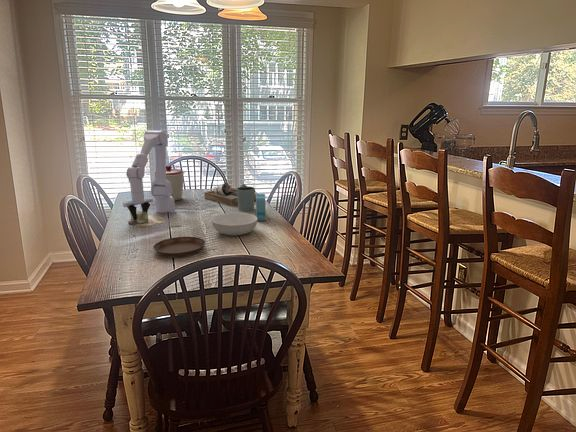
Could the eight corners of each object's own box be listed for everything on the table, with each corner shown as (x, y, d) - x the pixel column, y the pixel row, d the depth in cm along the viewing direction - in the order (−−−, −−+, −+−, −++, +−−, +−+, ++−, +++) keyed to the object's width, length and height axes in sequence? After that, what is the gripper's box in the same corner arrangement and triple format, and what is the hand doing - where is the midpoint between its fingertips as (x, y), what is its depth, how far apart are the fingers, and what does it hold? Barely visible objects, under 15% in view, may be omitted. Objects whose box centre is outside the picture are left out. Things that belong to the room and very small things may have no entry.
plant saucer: (144, 251, 178) (143, 243, 177) (188, 239, 192) (187, 232, 191) (170, 264, 164) (170, 256, 163) (215, 251, 178) (215, 243, 177)
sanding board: (153, 217, 227) (152, 214, 227) (170, 223, 215) (169, 220, 215) (125, 223, 217) (125, 220, 216) (141, 230, 205) (141, 227, 205)
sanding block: (139, 219, 218) (138, 209, 217) (148, 222, 212) (147, 212, 211) (131, 220, 215) (130, 211, 214) (139, 224, 209) (138, 214, 208)
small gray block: (134, 222, 213) (134, 220, 212) (137, 223, 211) (137, 221, 210) (128, 223, 211) (128, 221, 210) (131, 224, 209) (131, 222, 208)
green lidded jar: (234, 210, 239) (233, 189, 236) (242, 206, 248) (242, 185, 245) (250, 212, 236) (249, 190, 233) (258, 207, 245) (258, 186, 242)
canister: (173, 194, 277) (170, 161, 272) (192, 198, 267) (190, 164, 261) (149, 200, 263) (146, 165, 258) (168, 204, 253) (166, 168, 247)
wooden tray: (228, 193, 280) (228, 187, 279) (256, 200, 262) (255, 193, 261) (204, 198, 267) (204, 192, 266) (231, 205, 249) (231, 199, 248)
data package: (265, 221, 218) (265, 198, 215) (256, 222, 218) (256, 198, 215) (265, 215, 230) (264, 193, 226) (256, 215, 229) (256, 193, 226)
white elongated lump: (211, 200, 264) (210, 184, 261) (218, 196, 273) (217, 181, 270) (250, 202, 257) (250, 186, 254) (256, 199, 266) (256, 183, 263)
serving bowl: (221, 242, 188) (220, 227, 186) (206, 230, 206) (205, 216, 204) (265, 235, 197) (264, 220, 195) (247, 223, 215) (247, 210, 213)
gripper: (147, 188, 217) (149, 214, 220) (118, 192, 207) (121, 220, 210) (154, 190, 212) (156, 217, 216) (125, 194, 202) (128, 223, 206)
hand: (140, 218), depth 213 cm, fingers closed on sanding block, 4 cm apart
